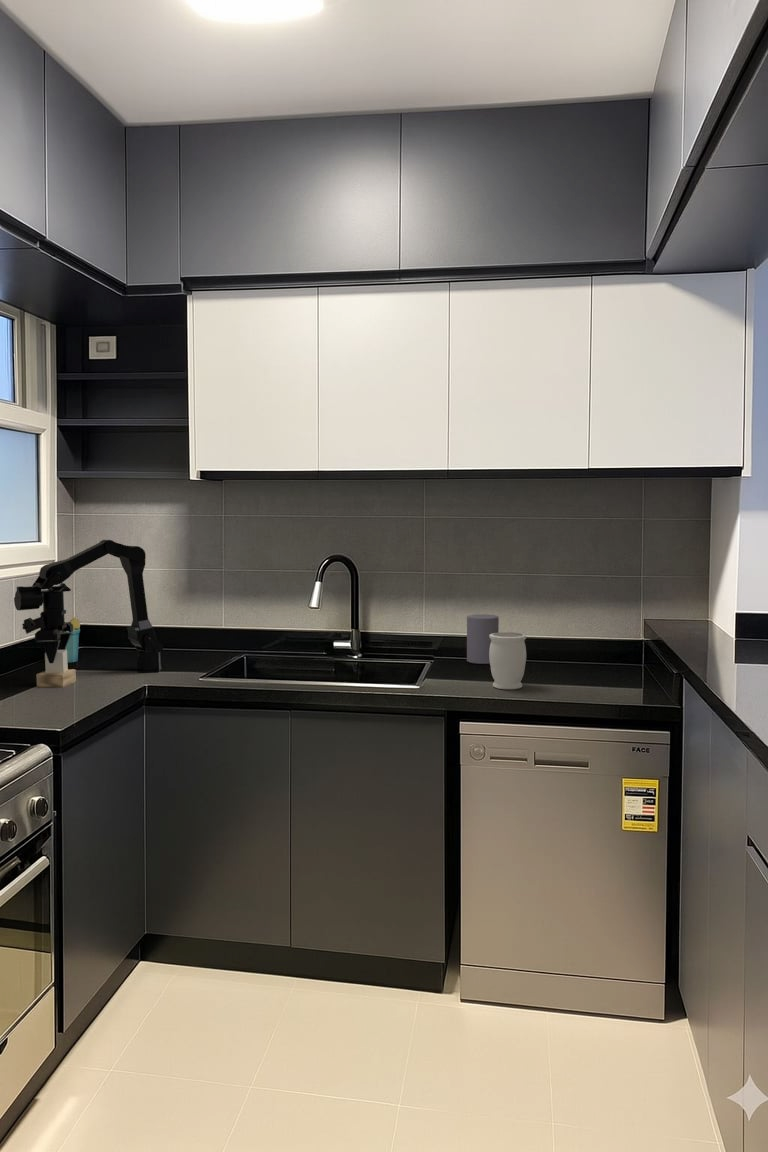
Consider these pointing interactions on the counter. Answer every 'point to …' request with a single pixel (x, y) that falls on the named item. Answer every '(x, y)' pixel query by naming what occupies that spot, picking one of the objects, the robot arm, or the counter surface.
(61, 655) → the ceramic cube
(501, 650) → the jar
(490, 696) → the counter surface
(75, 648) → the cup
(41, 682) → the oak block
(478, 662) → the container
